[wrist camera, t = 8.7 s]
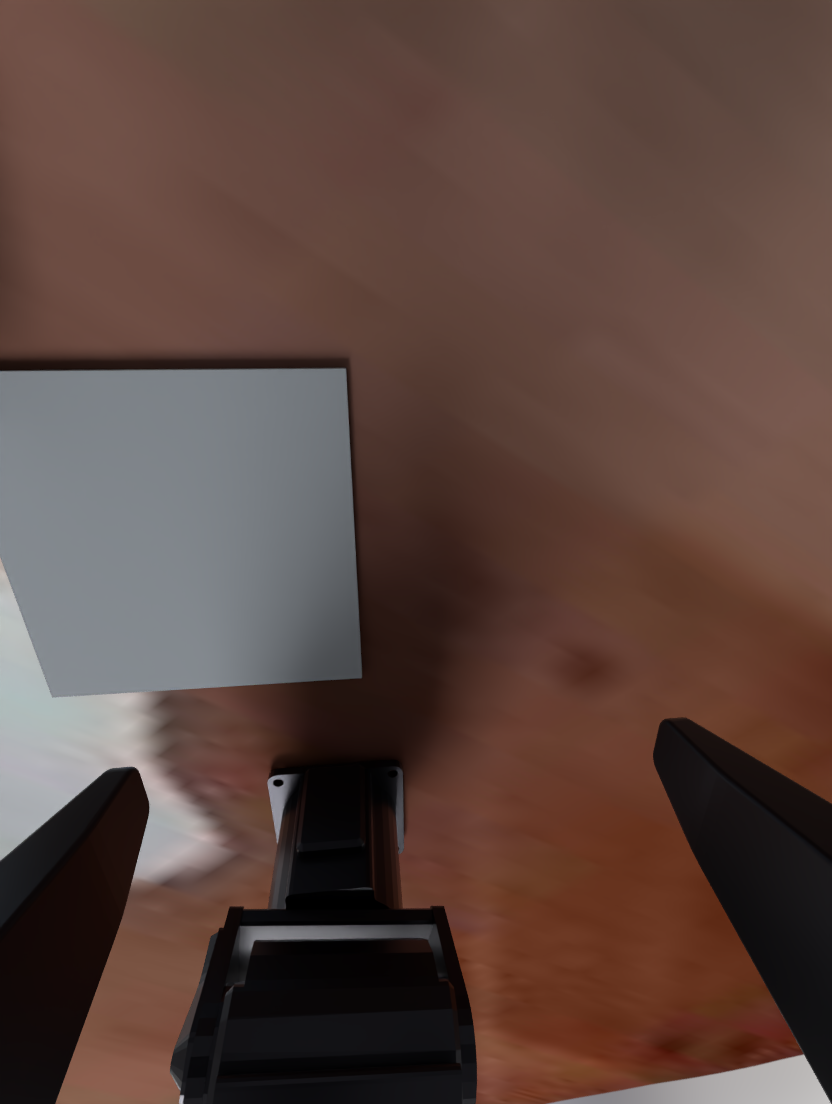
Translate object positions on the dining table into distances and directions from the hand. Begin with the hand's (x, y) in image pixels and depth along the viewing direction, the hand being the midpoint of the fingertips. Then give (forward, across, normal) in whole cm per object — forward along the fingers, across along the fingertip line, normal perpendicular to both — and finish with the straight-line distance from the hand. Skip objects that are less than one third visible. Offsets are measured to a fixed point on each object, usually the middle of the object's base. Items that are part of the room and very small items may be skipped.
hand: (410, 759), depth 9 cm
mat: (+12, +8, +1) cm, 15 cm away
